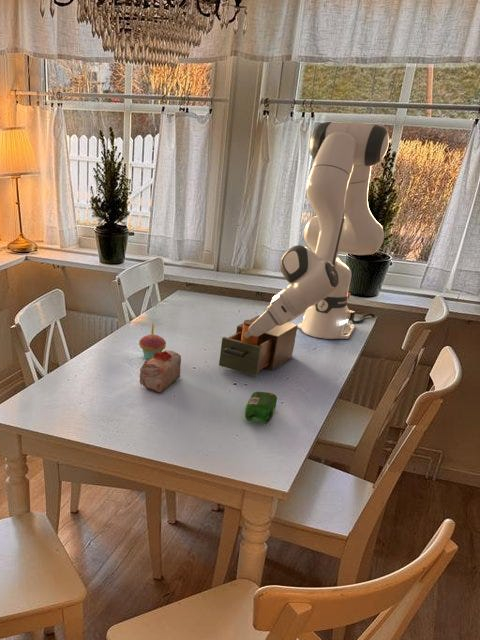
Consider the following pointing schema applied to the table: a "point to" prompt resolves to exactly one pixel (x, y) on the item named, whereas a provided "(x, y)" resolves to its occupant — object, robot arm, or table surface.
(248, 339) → the cookie roll
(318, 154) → the robot arm
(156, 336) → the cupcake
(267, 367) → the cabinet
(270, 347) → the drawer
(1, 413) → the table surface
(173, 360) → the food item
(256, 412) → the snack package
